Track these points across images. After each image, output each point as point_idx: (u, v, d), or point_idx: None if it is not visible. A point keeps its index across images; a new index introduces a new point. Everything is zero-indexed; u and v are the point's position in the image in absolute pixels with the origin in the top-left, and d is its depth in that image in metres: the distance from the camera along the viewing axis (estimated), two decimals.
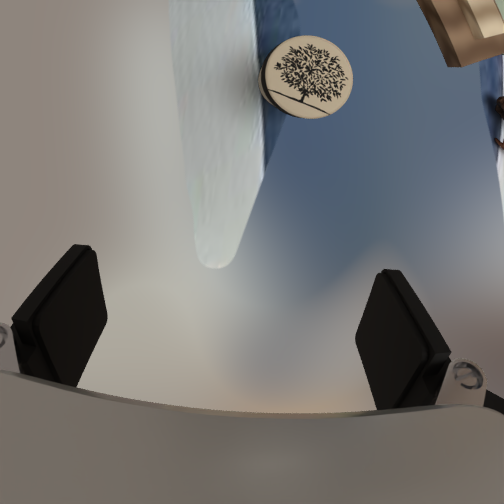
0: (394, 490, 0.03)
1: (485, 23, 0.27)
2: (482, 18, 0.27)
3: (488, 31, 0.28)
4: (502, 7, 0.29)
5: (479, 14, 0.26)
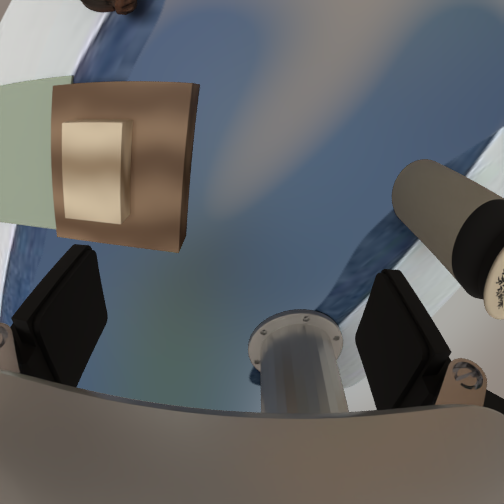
0: (394, 490, 0.03)
1: (103, 146, 0.24)
2: (105, 156, 0.24)
3: (105, 131, 0.23)
4: (33, 151, 0.29)
5: (108, 164, 0.25)
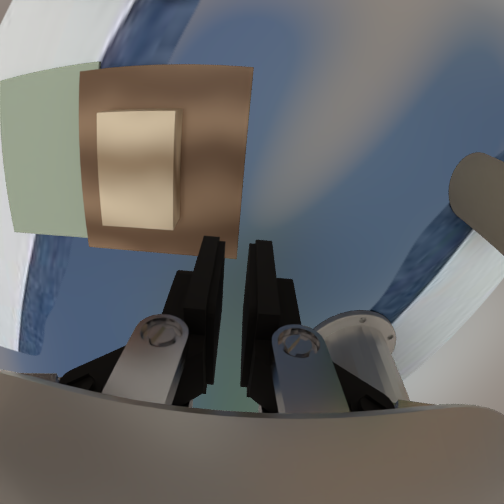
0: (394, 490, 0.03)
1: (151, 139, 0.21)
2: (154, 151, 0.21)
3: (153, 121, 0.20)
4: (53, 150, 0.27)
5: (157, 161, 0.22)
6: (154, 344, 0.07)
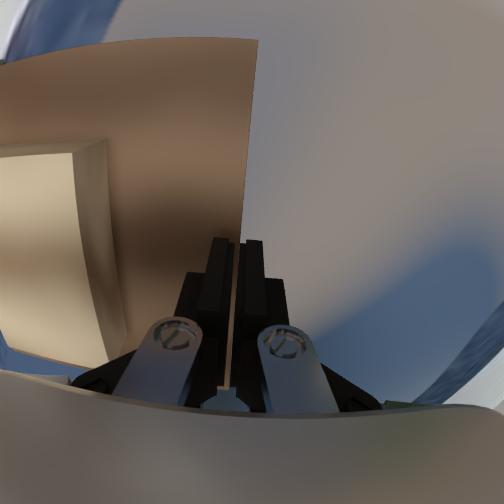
0: (394, 490, 0.03)
1: (38, 218, 0.09)
2: (47, 241, 0.09)
3: (34, 179, 0.08)
4: None
5: (56, 260, 0.10)
6: (167, 347, 0.07)
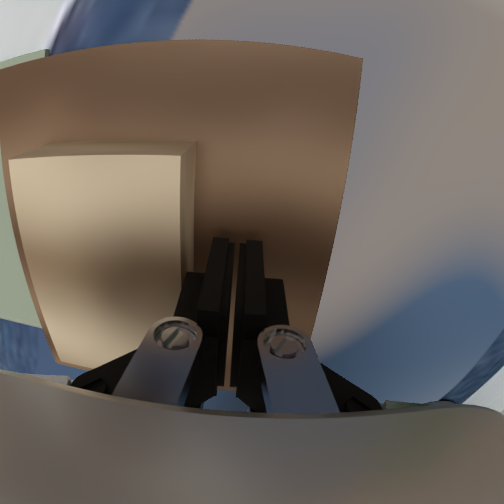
0: (394, 490, 0.03)
1: (127, 225, 0.09)
2: (134, 250, 0.09)
3: (126, 181, 0.08)
4: None
5: (144, 271, 0.10)
6: (167, 347, 0.07)
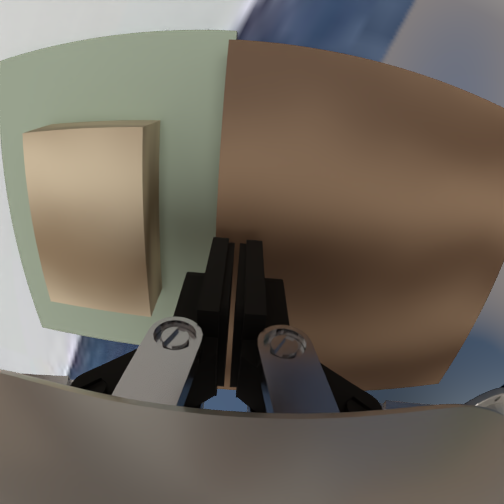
0: (394, 490, 0.03)
1: None
2: None
3: None
4: None
5: None
6: (167, 347, 0.07)
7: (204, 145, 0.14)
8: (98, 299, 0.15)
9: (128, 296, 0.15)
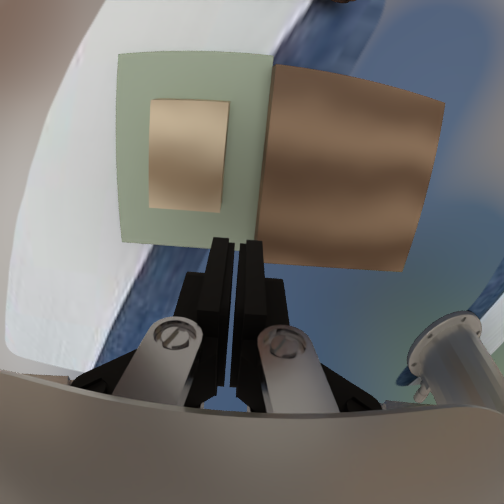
0: (394, 490, 0.03)
1: None
2: None
3: None
4: None
5: None
6: (167, 347, 0.07)
7: (254, 116, 0.25)
8: (186, 202, 0.26)
9: (207, 199, 0.26)
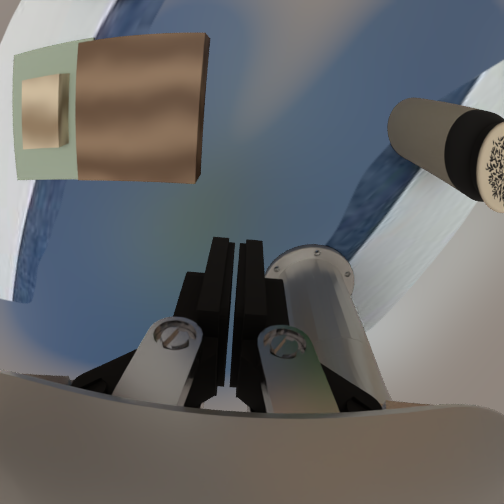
0: (394, 490, 0.03)
1: None
2: None
3: None
4: None
5: None
6: (167, 347, 0.07)
7: None
8: (41, 143, 0.31)
9: (51, 138, 0.31)
